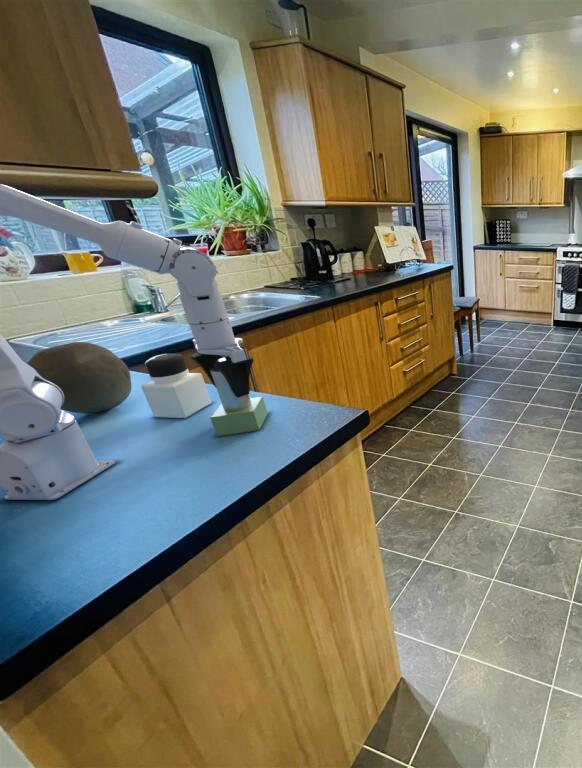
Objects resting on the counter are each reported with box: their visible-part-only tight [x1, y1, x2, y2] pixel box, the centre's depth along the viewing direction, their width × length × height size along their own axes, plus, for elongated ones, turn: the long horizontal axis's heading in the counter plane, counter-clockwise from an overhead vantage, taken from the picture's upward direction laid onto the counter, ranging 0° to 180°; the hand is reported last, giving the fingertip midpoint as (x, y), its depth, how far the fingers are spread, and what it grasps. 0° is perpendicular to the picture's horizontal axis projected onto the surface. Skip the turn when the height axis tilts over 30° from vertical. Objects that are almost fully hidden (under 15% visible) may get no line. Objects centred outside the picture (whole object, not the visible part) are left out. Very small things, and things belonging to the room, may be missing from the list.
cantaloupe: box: [26, 341, 132, 414], centre depth 81 cm, size 14×14×15 cm
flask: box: [210, 358, 251, 412], centre depth 74 cm, size 4×4×10 cm
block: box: [210, 396, 269, 437], centre depth 77 cm, size 7×7×4 cm
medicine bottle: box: [140, 352, 212, 419], centre depth 82 cm, size 7×7×12 cm
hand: (232, 391), depth 75 cm, fingers open, 7 cm apart
